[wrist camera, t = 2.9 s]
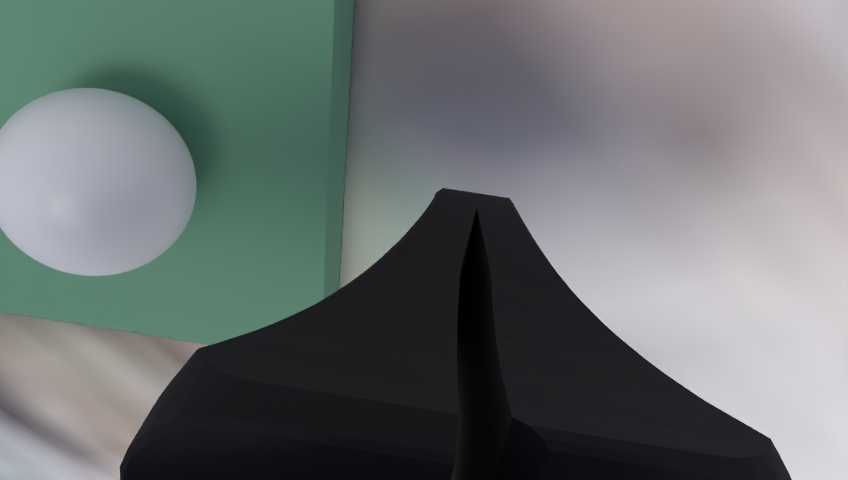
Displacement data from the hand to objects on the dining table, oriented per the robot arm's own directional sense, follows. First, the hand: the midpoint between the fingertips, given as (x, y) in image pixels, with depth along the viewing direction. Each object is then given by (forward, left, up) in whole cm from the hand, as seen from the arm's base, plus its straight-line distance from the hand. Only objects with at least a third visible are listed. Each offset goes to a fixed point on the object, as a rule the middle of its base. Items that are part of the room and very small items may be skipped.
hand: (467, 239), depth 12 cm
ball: (-7, 0, 0) cm, 7 cm away
